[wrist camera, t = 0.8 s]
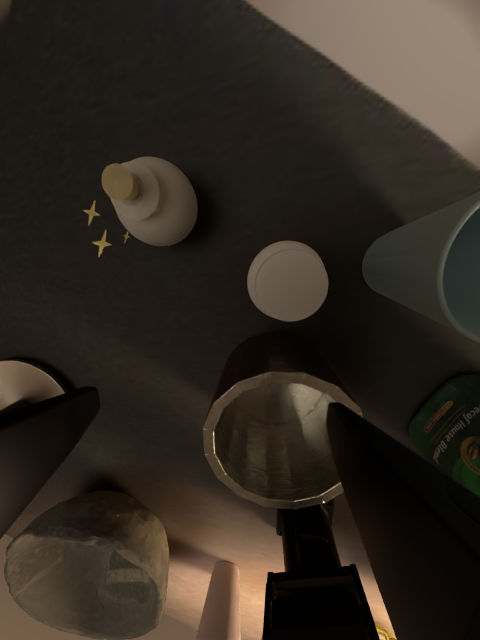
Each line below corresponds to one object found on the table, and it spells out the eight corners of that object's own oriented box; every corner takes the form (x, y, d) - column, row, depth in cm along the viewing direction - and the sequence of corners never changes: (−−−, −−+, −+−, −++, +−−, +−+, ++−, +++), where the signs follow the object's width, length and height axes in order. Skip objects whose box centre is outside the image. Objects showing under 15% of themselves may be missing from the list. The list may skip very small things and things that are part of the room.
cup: (361, 319, 21) (456, 370, 11) (337, 240, 19) (421, 213, 9) (448, 289, 20) (648, 315, 9) (429, 202, 18) (643, 122, 8)
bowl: (92, 563, 33) (42, 653, 26) (39, 472, 30) (-38, 545, 22) (203, 554, 31) (185, 652, 23) (161, 452, 27) (121, 528, 19)
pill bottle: (264, 236, 20) (268, 217, 11) (317, 260, 20) (361, 258, 11) (241, 290, 21) (229, 310, 13) (291, 312, 21) (312, 346, 13)
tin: (325, 429, 24) (358, 515, 16) (224, 424, 25) (207, 502, 17) (335, 332, 21) (381, 375, 13) (221, 330, 22) (198, 369, 14)
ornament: (215, 194, 19) (172, 126, 10) (185, 273, 21) (123, 281, 12) (152, 163, 19) (43, 61, 9) (128, 245, 21) (16, 230, 11)
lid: (89, 447, 28) (57, 482, 23) (2, 441, 29) (-45, 473, 24) (69, 357, 25) (28, 378, 20) (-27, 355, 26) (-87, 374, 21)
